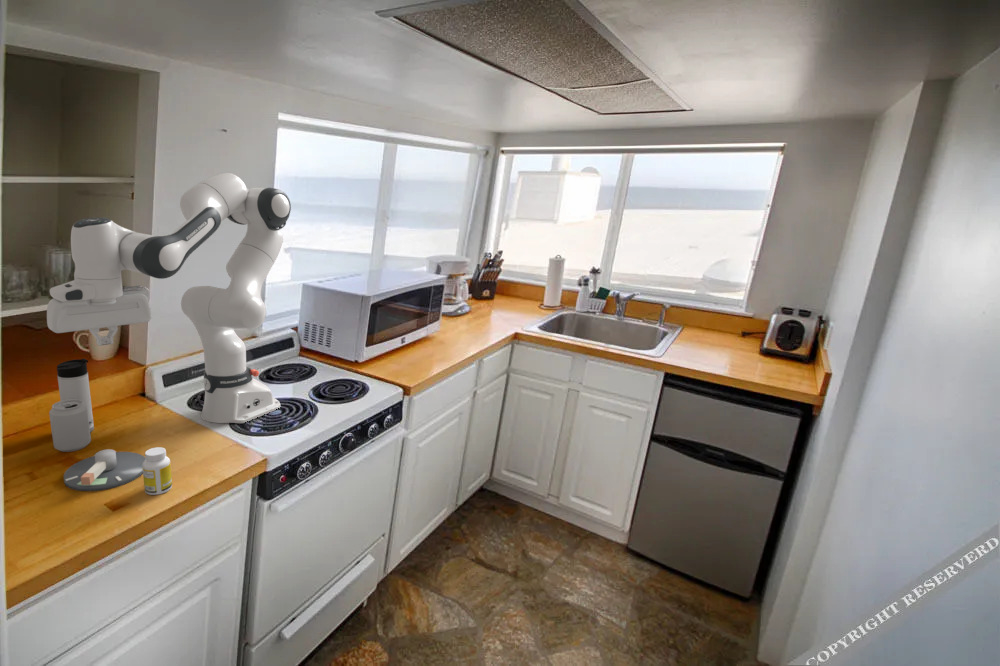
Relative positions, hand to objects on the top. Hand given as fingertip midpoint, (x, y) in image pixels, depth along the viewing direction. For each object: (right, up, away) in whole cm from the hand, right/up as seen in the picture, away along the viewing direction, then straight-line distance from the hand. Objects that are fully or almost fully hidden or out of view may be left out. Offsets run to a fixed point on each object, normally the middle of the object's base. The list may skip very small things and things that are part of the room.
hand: (105, 344), depth 127 cm
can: (-15, -27, +8) cm, 32 cm away
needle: (+2, -30, -5) cm, 31 cm away
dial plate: (+1, -31, -1) cm, 31 cm away
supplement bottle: (+16, -34, -5) cm, 38 cm away
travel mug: (-19, -24, +16) cm, 34 cm away
